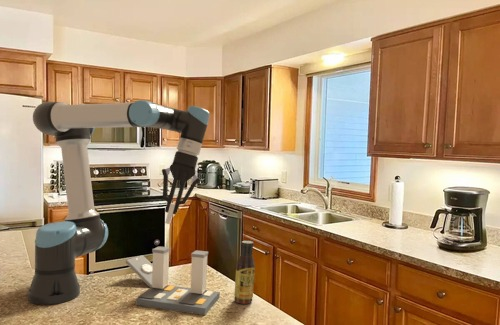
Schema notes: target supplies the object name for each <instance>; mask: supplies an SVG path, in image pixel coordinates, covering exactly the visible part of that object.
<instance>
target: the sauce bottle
mask: <svg viewBox="0 0 500 325" xmlns="http://www.w3.org/2000/svg"><path fill="white" fill-rule="evenodd" d="M240 246H241V249H240V250H241V251H240V256H239V257H238V259H237V262H236V269H235V280H234V281H235V282H234V283H235V284H234V293H233V296H234V302H235V303H237V304H240V305H241V304H242V305H247V304H250V303H251V302H252V301H253V297H254V287H255V286H254V285H255V283H254V282H255V270H256V269H255V266H256V265H255V259H254V257H253V249H254V241H251V240H243V241H241V243H240Z"/></svg>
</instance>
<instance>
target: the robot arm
mask: <svg viewBox="0 0 500 325" xmlns="http://www.w3.org/2000/svg"><path fill="white" fill-rule="evenodd" d="M209 119H210V111H208V110H207V109H205V108H203V107H199V106H196V105H190V106H188V108H187V110H183V109H178V108H173V107H169V106H166V105H162V104H159V103H155V102H152V101H150V100H143V99H141V100H140V99H139V100H137V101H134V102H114V103H110V102H109V103H86V104H85V103H83V104H82V103H81V104H80V103H79V104H68V103H66V102H64V101H45V102H41V103H40V104H38V105H37V106H36V107H35V109H34V111H33V113H32V122H33V124H34V126H35V128H36V129H37V130H38V131H40V132H41V133H43V135H44V134H45V135H48V136H51V137H53V136H54V139H55V144H56V145H57V146H59V147H60V148H61V156H62V158H61V159H62V165H63V174H64V176H63V177H64V182H65V183H64V184H65V191H66V192H65V193H66V201H67V209H68V214H67V215H66V217H65V218H64V220H61V221H56V222H50V223H46V224H44V225H41V226H40V227H38V229H37V230H36V231H35V239H34V246H35V247H34V275H33V277H32V280H31V283H30V287H29V289H28V291H27V301H28V302H29V303H31V304H35V305H41V306H42V305H56V304H61V303H66V302H68V301H72V300H74V299H76V298H77V297H78V296H80V293H81V286H80V285H81V284H80V283H79V281H78V277H77V273H76V258H79V257H82V256H84V255H87V254H91V253H94V252H95V251H97V250H99V249H101V248H102V247H103V246H104V245H105V243H106V242H107V240H108V237H109V228H108V226H107V223H105V222H104V220H102V219H101V216H100V213H99V212H98V211H96V208H95V203H94V202H95V201H94V194H93V187H92V178H91V169H90V168H91V167H90V159H89V152H88V151H89V150H88V145H89V144H90V142H91V141H92V137H91V136H92V135H93V134H94V132H95V130H96V129H100V128H101V129H103V128H105V129H106V128H107V129H108V128H154V129H159V130H167V131H171V132H175V133H179V134H180V137H179V140H178V143H177V145H176V149H177V151H175V153H174V158H173V160H172V162H171V165H170V166H169V167H166V168H163V169H162V170H161V173H162V176H163V178H162V180H163V182H162V187H163V188H162V200H164V201H166V206H165V210H164V212H165V213H167V215H166V218H165V221H164V222H165V224H166V225H171V222H172V218H173V216H174V215H177V214H178V210H179V207H180V205H185V204H186V203H187V201H188V199H189V197H190V196H191V194H192V192H193V190H194V188H195V186H196V185H197V184H198V183H199V182H200V181H201V179H200V178H199V177H198V176H197V175H196V167H197V164H198V161H199V157H198V156H200V153H201V149H202V146H203V142H204V138H205V134H206V131H207V127H208V126H209V121H210V120H209ZM170 173H171V176H172V179H173V180H172V184H171V188H170V191H169V175H170ZM191 179H192V183H191V184H190V186H189V187H188V190H187V191H186V193H185V195H184V197H183V199H182V195H183V193H184V189H185V185H186V182H188V181H189V180H191ZM178 181H180V186H179V189H178V192H177V197H176V199H175V202H173V198H174V196H175V192H176V188H177V185H178ZM168 191H169V194H168Z"/></svg>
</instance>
